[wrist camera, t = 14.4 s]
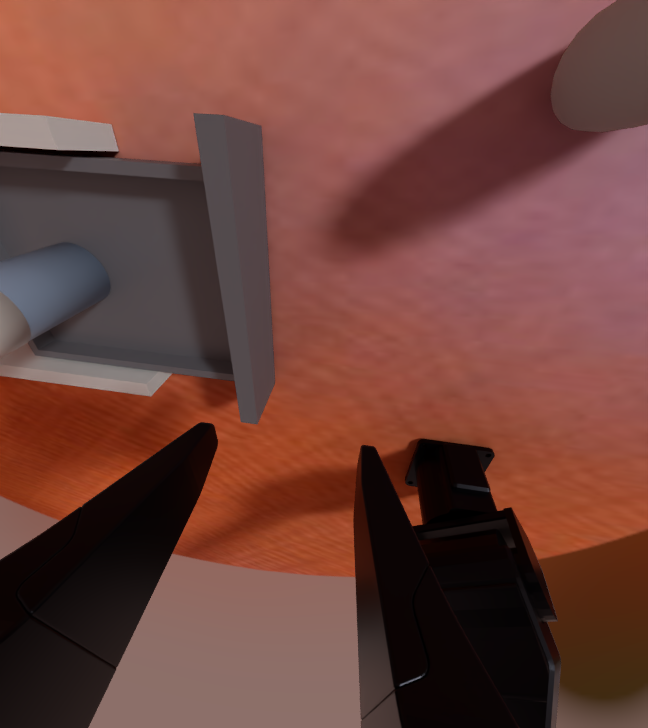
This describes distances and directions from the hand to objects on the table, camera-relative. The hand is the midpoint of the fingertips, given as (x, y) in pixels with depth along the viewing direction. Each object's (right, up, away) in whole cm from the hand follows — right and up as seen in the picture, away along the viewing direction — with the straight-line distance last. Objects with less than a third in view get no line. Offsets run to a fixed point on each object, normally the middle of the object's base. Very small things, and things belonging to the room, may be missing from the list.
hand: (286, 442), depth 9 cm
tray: (-12, +9, +12) cm, 19 cm away
